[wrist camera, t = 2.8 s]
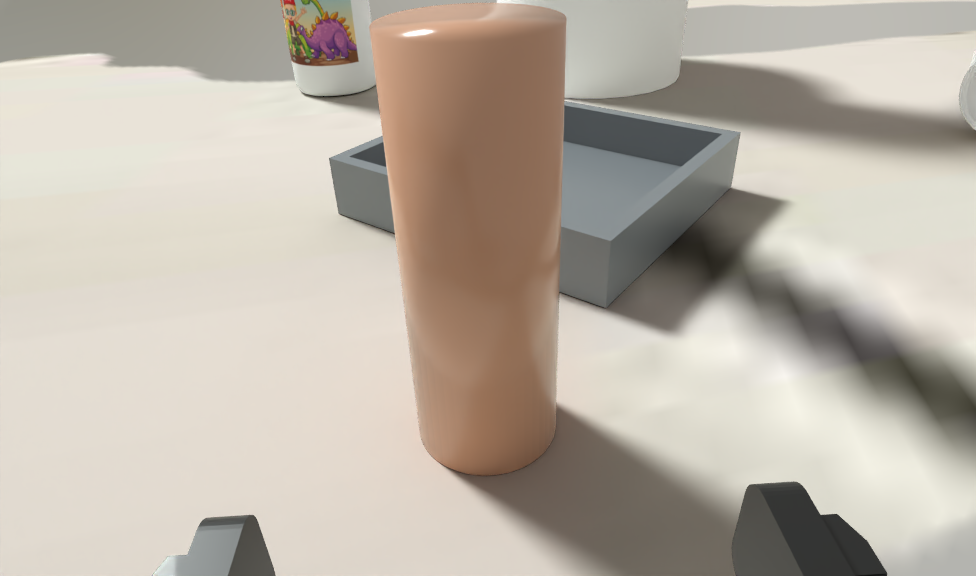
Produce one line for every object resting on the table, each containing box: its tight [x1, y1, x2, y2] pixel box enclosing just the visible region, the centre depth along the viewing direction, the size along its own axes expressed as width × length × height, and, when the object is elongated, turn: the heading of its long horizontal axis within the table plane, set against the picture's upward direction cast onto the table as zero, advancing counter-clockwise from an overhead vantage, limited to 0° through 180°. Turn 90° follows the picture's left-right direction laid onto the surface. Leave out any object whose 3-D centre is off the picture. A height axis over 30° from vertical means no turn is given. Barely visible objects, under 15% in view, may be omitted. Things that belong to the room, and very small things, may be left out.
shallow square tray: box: [329, 101, 741, 308], centre depth 39 cm, size 18×16×4 cm
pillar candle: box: [369, 3, 567, 476], centre depth 21 cm, size 5×5×14 cm
